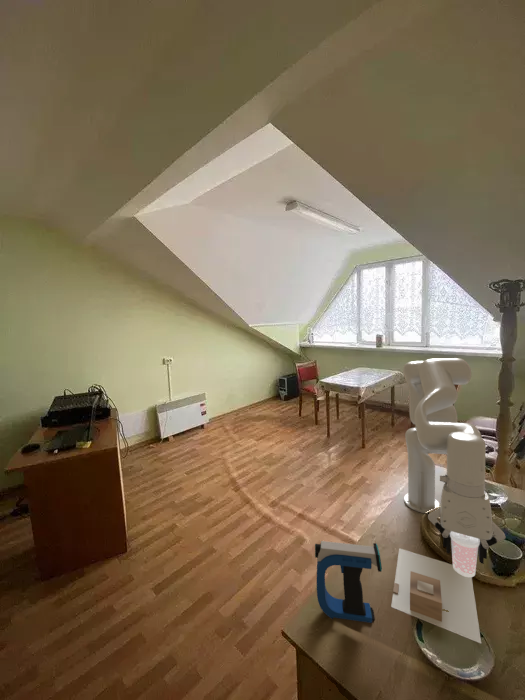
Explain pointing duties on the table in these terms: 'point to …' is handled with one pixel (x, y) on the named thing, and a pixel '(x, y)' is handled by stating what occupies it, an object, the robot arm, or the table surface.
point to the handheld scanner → (346, 578)
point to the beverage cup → (464, 553)
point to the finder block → (425, 596)
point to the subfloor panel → (453, 593)
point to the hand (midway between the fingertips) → (464, 553)
